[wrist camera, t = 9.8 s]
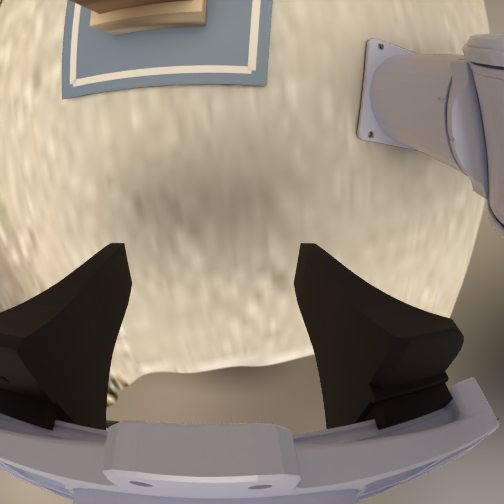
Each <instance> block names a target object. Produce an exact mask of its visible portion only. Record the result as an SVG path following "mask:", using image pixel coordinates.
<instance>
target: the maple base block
mask: <svg viewBox="0 0 504 504" xmlns="http://www.w3.org/2000/svg"><path fill="white" fill-rule="evenodd" d="M207 7H208V0H190V1H176V2H166V3H157V4H149V5H143V6H136V7H131V8H125V9H120V10H115V11H111V12H106V13H102V14H98V13H96V12H94V11H92V10H91V18H90V26H91V27H94V28H97V29H99V30H102V31H105V32H107V33H110V34H113V35H118V34H124V33H130V32H137V31H145V30H153V29H164V28H177V27H200V26H206V19H207Z"/></svg>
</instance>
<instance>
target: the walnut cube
mask: <svg viewBox="0 0 504 504" xmlns="http://www.w3.org/2000/svg"><path fill="white" fill-rule="evenodd" d="M69 1H72V2H74V3H76V4H79V5H81V6H83V7H85V8H88V9H90V10H92V11H94V12H96V13H98V14H102V13H106V12H111V11H115V10H120V9H125V8H131V7H136V6H143V5H149V4H157V3H166V2H176V1H190V0H69Z"/></svg>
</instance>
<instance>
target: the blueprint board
mask: <svg viewBox="0 0 504 504" xmlns="http://www.w3.org/2000/svg"><path fill="white" fill-rule="evenodd" d="M272 1H273V0H208V7H207V19H206V26H200V27H177V28H164V29H153V30H145V31H137V32H130V33H124V34H118V35H113V34H110V33H107V32H105V31H102V30H99V29H97V28H94V27H91V26H90V18H91V10H90V9H88V8H85V7H83V6H81V5H79V4H76V3H74V2H72V1H69V0H68V2H67V9H66V17H65V26H64V37H63V53H62V99H68V98H73V97H78V96H83V95H88V94H94V93H100V92H107V91H114V90H121V89H130V88H139V87H150V86H163V85H183V84H237V85H257V86H266V84H267V70H268V56H269V43H270V29H271V15H272Z"/></svg>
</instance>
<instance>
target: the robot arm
mask: <svg viewBox="0 0 504 504" xmlns="http://www.w3.org/2000/svg"><path fill="white" fill-rule="evenodd" d="M378 44H380V45H381V47H382V49H381V50H380V49H379V48H378ZM463 52H464V55H451V54H417V53H414V52H412V51H409V50H406V49H404V48H401V47H398V46H395V45H393V44H390V43H387V42H384V41H380V40H377V39H370V40H368V41H367V49H366V62H365V73H364V83H363V92H362V101H361V109H360V116H359V124H358V131H357V135H358V137H359V138H360V139H362V140H366V141H372V142H378V143H383V144H388V145H393V146H398V147H403V148H408V149H412V150H417V151H421V152H423V153H425V154H427V155H429V156H431V157H433V158H435V159H437V160H439V161H441V162H443V163H445V164H447V165H449V166H451V167H453V168H454V169H456V170H458V171H460V172H462V173H463V174H465V175H467V176H468V177H469V178H470V180H471V182H472V186H473V191H475V192H476V193H478V194H479V195H481V196H482V197H484V198H485V199H487V213H488V218H489V221H490V223H491V225H492V227H493V228H494V230H495V231H496V232H497V233H498V234H499V236H501V237H502V238H503V239H504V34H481V35H474V36H471V37H470V38H469V40H468V42H467V44H466V45H464V46H463ZM369 132H372V135H371V137H368V133H369ZM131 287H132V280H131V276H130V271H129V266H128V261H127V256H126V250H125V245H124V243H110V244H109V245H107V246H106V247H104V248H103V249H102V250H100V251H99V252H98V253H96V254H95V255H94V256H93V257H91V258H90V259H89V260H87V261H86V262H85V263H84V264H82V265H81V266H80V267H79V268H77V269H76V270H74V271H73V272H72V273H70V274H69V275H68V276H66V277H65V278H64V279H62V280H61V281H60V282H58V283H57V284H55V285H54V286H52V287H50V288H49V289H47V290H46V291H44V292H42V293H41V294H39V295H37V296H35V297H33V298H31V299H29V300H27V301H26V302H24V303H22V304H19V305H17V306H15V307H13V308H10V309H8V310H6V311H3V312H1V313H0V469H2V470H3V471H5V472H7V473H9V474H11V475H13V476H16V477H18V478H20V479H22V480H24V481H26V482H28V483H30V484H33V485H35V486H37V487H40V488H43V489H45V490H47V491H50V492H52V493H55V494H57V495H60V496H63V497H66V498H69V499H72V500H74V501H73V504H360V503H359V500H362V499H365V498H368V497H371V496H374V495H377V494H380V493H382V492H385V491H388V490H390V489H393V488H395V487H398V486H400V485H402V484H405V483H407V482H409V481H412V480H414V479H416V478H418V477H420V476H423V475H425V474H427V473H429V472H431V471H433V470H435V469H437V468H439V467H441V466H443V465H445V464H447V463H449V462H450V461H452V460H454V459H456V458H458V457H460V456H461V455H463V454H464V453H466V452H467V451H468V450H470V449H471V448H472V447H474V446H475V445H477V444H478V443H479V442H481V441H482V440H483V439H485V438H486V437H487V436H488V435H490V434H491V433H492V432H493V431H494V430H495V429H497V428H498V427H499V423H498V421H497V419H496V417H495V415H494V413H493V411H492V409H491V407H490V405H489V403H488V402H487V400H486V398H485V396H484V394H483V392H482V391H481V389H480V387H479V385H478V383H477V382H476V380H475V378H473V377H472V378H469V379H467V380H464V381H462V382H460V383H457V384H455V385H453V386H452V387H451V388H449V389H448V388H447V386H446V384H445V382H447V381H448V376H447V374H446V373H445V370H446V369H447V368H448V367H449V365H450V364H451V363H452V361H453V360H454V359H455V357H456V356H457V355H458V352H459V351H460V350H461V347H462V344H463V341H464V336H463V335H462V333H461V331H460V330H459V328H458V327H457V326H456V324H455V323H454V322H453V320H452V319H450V318H446V317H443V316H439V315H436V314H432V313H429V312H426V311H424V310H421V309H418V308H416V307H413V306H411V305H408V304H406V303H404V302H402V301H400V300H398V299H396V298H394V297H391V296H390V295H388V294H386V293H384V292H382V291H381V290H379V289H377V288H375V287H374V286H372V285H370V284H369V283H367V282H366V281H364V280H363V279H361V278H360V277H359V276H357V275H356V274H354V273H353V272H352V271H350V270H349V269H348V268H346V267H345V266H344V265H342V264H341V263H340V262H339V261H337V260H336V259H335V258H333V257H332V256H331V255H330V254H328V253H327V252H326V251H325V250H323V249H322V248H321V247H319V246H318V245H316V244H315V243H301V245H300V251H299V257H298V263H297V268H296V274H295V280H294V287H295V292H296V297H297V302H298V305H299V308H300V311H301V314H302V317H303V320H304V323H305V326H306V328H307V331H308V334H309V337H310V340H311V343H312V346H313V349H314V353H315V357H316V361H317V367H318V371H319V376H320V382H321V388H322V394H323V401H324V409H325V417H326V427H327V429H325V430H320V431H313V432H307V433H300V434H292V432H291V430H289V429H287V428H284V427H281V426H278V425H275V424H268V423H267V424H266V423H237V424H185V423H164V422H151V421H121V422H119V423H117V424H115V425H112V426H110V427H109V428H108V431H106V404H107V390H108V381H109V372H110V366H111V360H112V354H113V350H114V346H115V343H116V339H117V336H118V333H119V330H120V327H121V324H122V321H123V318H124V315H125V312H126V309H127V306H128V302H129V297H130V292H131Z"/></svg>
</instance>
